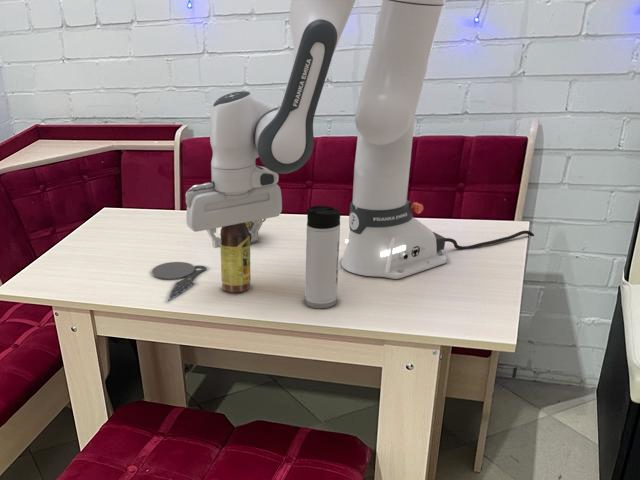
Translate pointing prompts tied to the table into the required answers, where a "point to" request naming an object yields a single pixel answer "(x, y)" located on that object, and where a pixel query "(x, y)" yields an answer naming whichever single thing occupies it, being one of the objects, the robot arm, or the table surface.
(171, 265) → the round mirror
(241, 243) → the sauce bottle
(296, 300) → the table surface
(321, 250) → the travel mug
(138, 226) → the table surface
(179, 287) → the throwing knife
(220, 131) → the robot arm
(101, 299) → the table surface
